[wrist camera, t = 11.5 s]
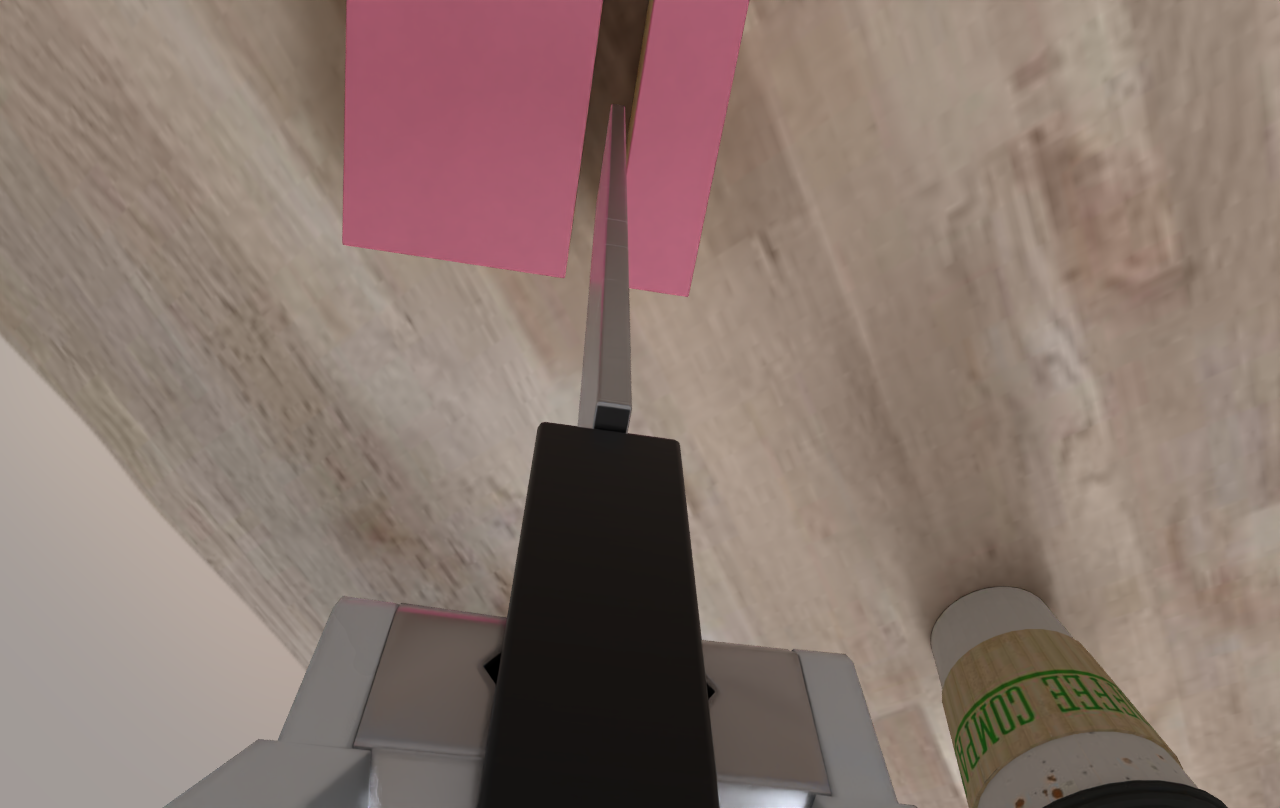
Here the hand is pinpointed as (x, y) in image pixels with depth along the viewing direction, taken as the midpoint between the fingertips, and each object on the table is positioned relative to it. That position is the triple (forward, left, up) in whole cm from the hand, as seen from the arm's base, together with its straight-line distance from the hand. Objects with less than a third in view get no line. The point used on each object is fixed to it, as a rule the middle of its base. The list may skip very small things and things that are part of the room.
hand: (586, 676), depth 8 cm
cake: (-5, 0, -29) cm, 30 cm away
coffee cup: (+23, -23, -30) cm, 44 cm away
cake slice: (+2, 0, -29) cm, 30 cm away
